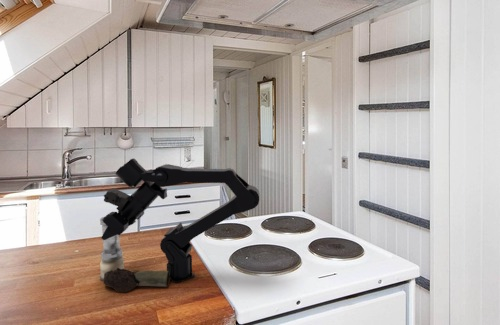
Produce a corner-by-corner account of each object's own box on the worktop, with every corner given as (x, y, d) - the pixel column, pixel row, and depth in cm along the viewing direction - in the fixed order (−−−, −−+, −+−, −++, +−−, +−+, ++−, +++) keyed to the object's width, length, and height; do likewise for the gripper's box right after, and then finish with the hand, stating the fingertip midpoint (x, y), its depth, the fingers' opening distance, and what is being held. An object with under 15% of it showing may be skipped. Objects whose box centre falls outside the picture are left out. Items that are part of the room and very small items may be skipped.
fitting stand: (120, 270, 106) (119, 254, 106) (128, 277, 101) (127, 260, 101) (97, 276, 102) (96, 260, 101) (104, 284, 97) (104, 267, 96)
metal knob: (118, 252, 105) (116, 214, 104) (125, 257, 101) (123, 218, 99) (98, 257, 101) (96, 218, 100) (105, 263, 97) (102, 221, 95)
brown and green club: (170, 282, 98) (169, 263, 98) (165, 293, 92) (165, 273, 91) (108, 283, 98) (107, 264, 97) (98, 295, 91) (97, 275, 90)
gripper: (132, 175, 108) (99, 209, 109) (108, 185, 89) (68, 226, 90) (158, 199, 108) (125, 233, 110) (139, 214, 90) (100, 255, 91)
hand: (106, 236), depth 100 cm, fingers closed on metal knob, 4 cm apart
